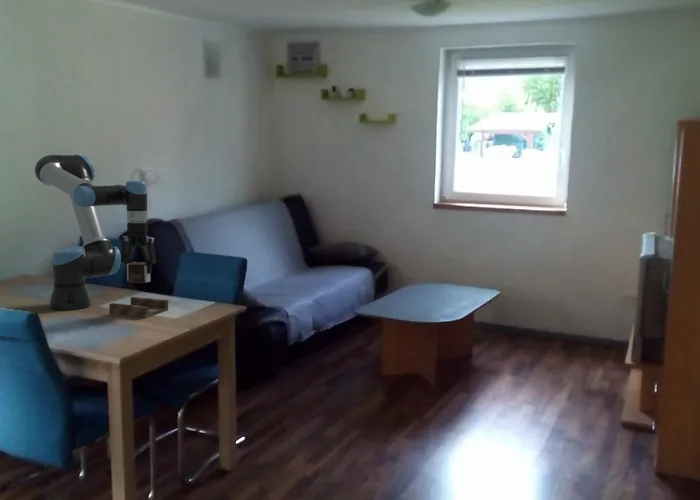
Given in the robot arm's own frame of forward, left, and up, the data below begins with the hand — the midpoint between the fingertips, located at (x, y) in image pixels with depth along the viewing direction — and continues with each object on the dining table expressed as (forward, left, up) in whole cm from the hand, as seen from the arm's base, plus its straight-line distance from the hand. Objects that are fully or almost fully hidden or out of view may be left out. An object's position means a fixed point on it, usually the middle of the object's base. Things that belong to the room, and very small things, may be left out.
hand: (138, 280), depth 264 cm
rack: (0, 0, -12) cm, 12 cm away
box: (0, 0, -1) cm, 1 cm away
